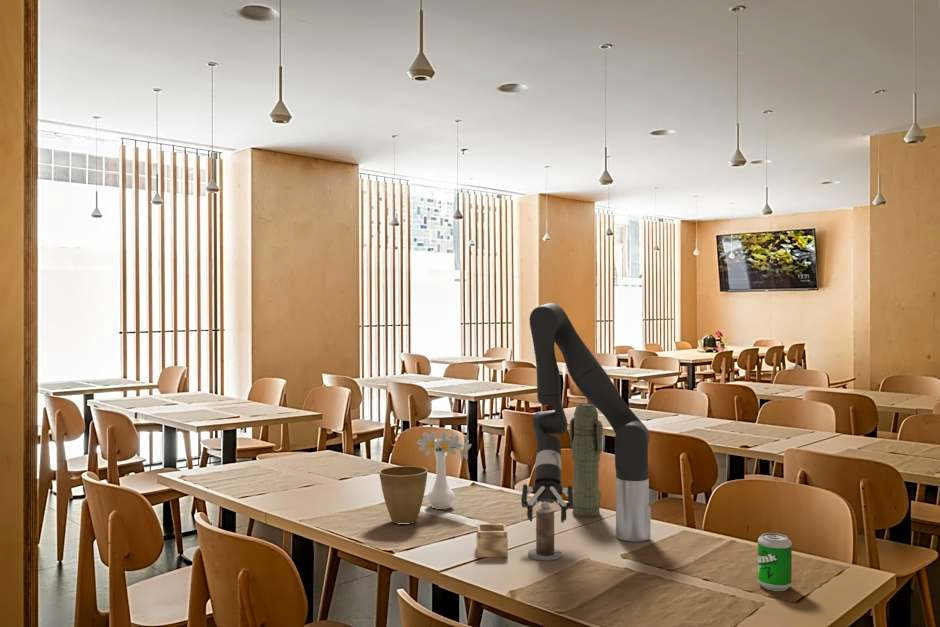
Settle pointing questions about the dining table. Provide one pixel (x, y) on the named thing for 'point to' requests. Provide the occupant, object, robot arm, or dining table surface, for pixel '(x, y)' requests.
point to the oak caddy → (492, 540)
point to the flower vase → (441, 466)
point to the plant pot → (403, 491)
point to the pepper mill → (545, 530)
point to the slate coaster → (535, 556)
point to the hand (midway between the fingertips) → (546, 520)
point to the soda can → (774, 561)
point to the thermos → (586, 459)
